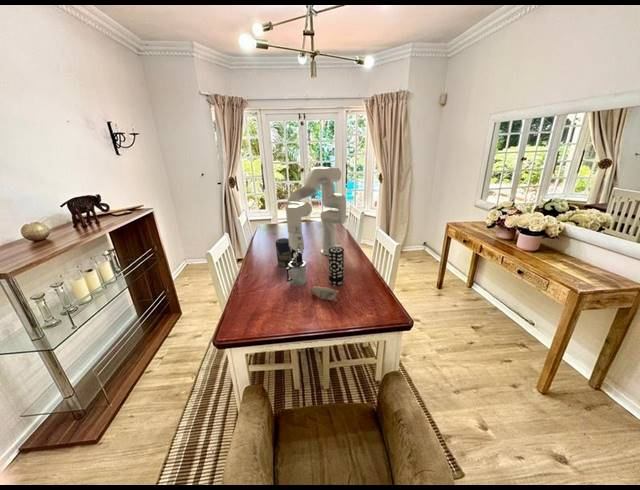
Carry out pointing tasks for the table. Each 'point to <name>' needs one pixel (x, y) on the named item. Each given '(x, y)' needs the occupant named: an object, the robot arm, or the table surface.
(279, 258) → the canister
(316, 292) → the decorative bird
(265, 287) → the table surface
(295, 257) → the plunger
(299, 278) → the press carafe
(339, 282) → the spotted tube
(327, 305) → the table surface
